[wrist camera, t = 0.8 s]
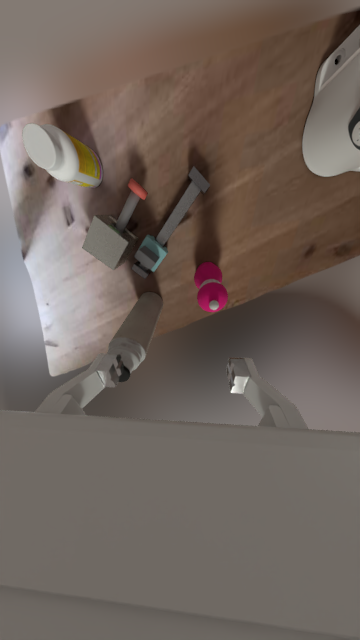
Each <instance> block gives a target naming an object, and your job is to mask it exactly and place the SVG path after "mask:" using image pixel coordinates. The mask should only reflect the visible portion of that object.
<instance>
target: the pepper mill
mask: <svg viewBox="0 0 360 640" xmlns="http://www.w3.org/2000/svg"><path fill="white" fill-rule="evenodd" d="M194 280H195V284H196V286H197V287H198V289H199V292H198V296H197V299H198V303H199V305H200V307H201V308H202V309H204V310H205V311H208V312H216V311H219V310H221V309H222V308H223V307H224V306H225V304H226V303H227V299H228V294H227V291H226V289H225V287H224V286H223V285H221V282H222V273H221V270H220V269H219V268H218V267H217V266H216V265H215V264H214V263H212V262H204V263H202V264H201V265H199V267H198V268H197V271H196V273H195V276H194Z"/></svg>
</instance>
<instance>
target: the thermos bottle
mask: <svg viewBox="0 0 360 640" xmlns="http://www.w3.org/2000/svg"><path fill="white" fill-rule="evenodd" d="M162 307H163V301H162V299H161V297H160V296H159V295H157V294H156V293H153V292H146V293H144V294H142V295H141V297H140V298H139V300H138V301H137V303H136V304H135V306H134V307H133V309H132V310H131V312H130V313H129V315H128V316H127V318H126V319H125V321H124V322H123V324H122V325H121V327H120V328H119V330H118V331H117V333H116V334H115V336H114V337H113V339H112V340H111V342H110V343H109V350H108V352H107V354H120V355H121V357H122V358H121V360H122V361H123V363H124V369H123V372H122V374H121V375H120V376H119V381H118V382H124V381H127V380H128V379H129V377H130V373H131V372H132V370H134V369H136V368H137V367H138V365H139V364H140V363H141V362H142V361H143V360H144V359H145V356H146V354H147V350H148V347H149V344H150V342H151V339H152V336H153V333H154V331H155V328H156V325H157V322H158V319H159V316H160V313H161V310H162Z"/></svg>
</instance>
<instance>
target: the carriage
mask: <svg viewBox="0 0 360 640" xmlns="http://www.w3.org/2000/svg"><path fill="white" fill-rule="evenodd" d="M167 253H168V251H167V248H166V247H162V246H161V245H160V244H159V243H158V242H157V241H155V237H153V236H150V235H147V236H146V237H145V239H144V241H143V242H142V244H141V246H140V248H139V249H138V251H137V253H136V254H135V256H134V257H135V258H136V259H137V260H138V261H140V262H141V263H142V264H144V265H145V266H146V267H147V268H149V269H150V270H152V271H153V272H154V271H155V270H156V268H157V267H158V266H159V264H160V263H161V261H162V260H163V258H164V257H165V256H166V254H167Z"/></svg>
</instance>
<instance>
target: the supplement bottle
mask: <svg viewBox="0 0 360 640" xmlns="http://www.w3.org/2000/svg"><path fill="white" fill-rule="evenodd" d="M22 138H23V143H24V146H25V149H26V151H27V153H28V155H29V156H30V158H31V159H32V160H33V161H34V162H35V163H36V164H37V165H38V166H40V167H41V168H44V169H46V170H47V171H48V172H49V173H50V174H51V175H52V176H53V177H55V178H56V179H58V180H61V181H64V182H68V183H72V184H76V185H80V186H84V187H88V188H95V187H97V186H99V185H100V183H101V181H102V178H103V169H102V165H101V162H100V160H99V158H98V156H97V155H96V153H95V152H94V151H93V150H92V149H91V148H89V147H88V146H86V145H85V144H83V143H81V142H80V141H78V140H76V139H75V138H73V137H72V136H70V135H68V134H67V133H65V132H64V131H62V130H61V129H59V128H57V127H55V126H53V125H49V124H44V125H41V126H39V125H37V124H34V123H29V124H27V125H26V126H25V127H24V129H23V132H22Z"/></svg>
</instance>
